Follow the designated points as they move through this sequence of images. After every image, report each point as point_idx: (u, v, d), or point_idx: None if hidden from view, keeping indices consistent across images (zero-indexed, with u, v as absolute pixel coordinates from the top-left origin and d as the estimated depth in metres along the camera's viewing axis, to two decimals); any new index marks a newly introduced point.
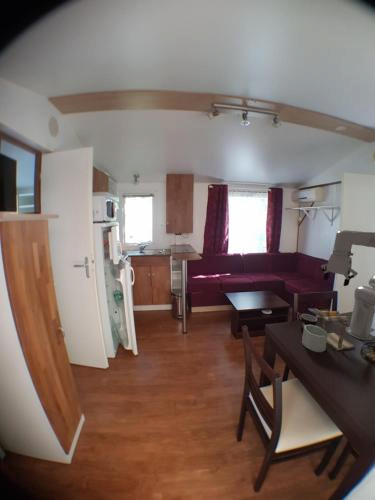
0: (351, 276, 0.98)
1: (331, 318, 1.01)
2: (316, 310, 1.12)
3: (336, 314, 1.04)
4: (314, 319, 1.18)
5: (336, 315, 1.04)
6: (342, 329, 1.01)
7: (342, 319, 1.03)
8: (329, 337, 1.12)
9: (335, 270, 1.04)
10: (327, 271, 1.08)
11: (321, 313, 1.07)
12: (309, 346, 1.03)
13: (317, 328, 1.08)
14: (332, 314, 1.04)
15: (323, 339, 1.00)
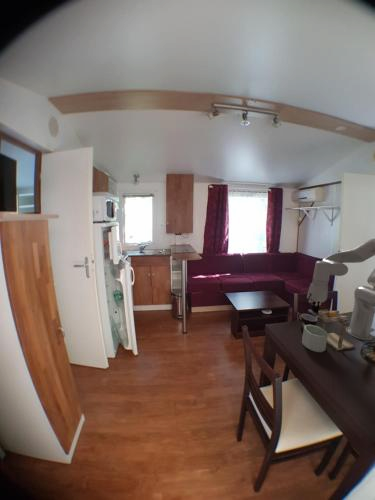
0: (321, 302, 1.10)
1: (331, 319, 1.01)
2: None
3: (336, 314, 1.04)
4: (314, 319, 1.18)
5: (336, 315, 1.04)
6: (342, 329, 1.01)
7: (342, 319, 1.03)
8: (329, 337, 1.12)
9: (319, 299, 1.08)
10: (317, 302, 1.09)
11: (321, 314, 1.07)
12: (309, 346, 1.03)
13: (317, 328, 1.08)
14: (332, 314, 1.04)
15: (323, 339, 1.00)
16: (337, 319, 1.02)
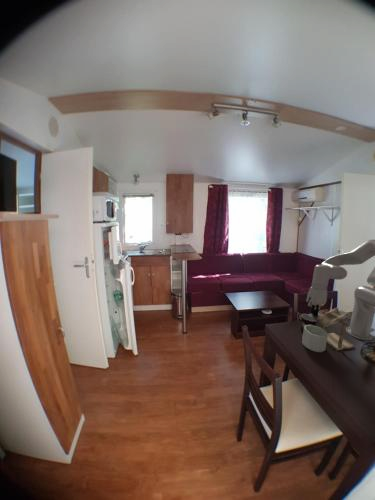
0: (320, 305, 1.10)
1: (329, 323, 1.02)
2: None
3: None
4: None
5: None
6: (342, 329, 1.01)
7: (341, 318, 1.03)
8: (329, 337, 1.12)
9: (318, 303, 1.08)
10: (316, 306, 1.09)
11: (320, 318, 1.07)
12: (309, 346, 1.03)
13: (317, 328, 1.08)
14: None
15: (323, 339, 1.00)
16: (336, 321, 1.02)
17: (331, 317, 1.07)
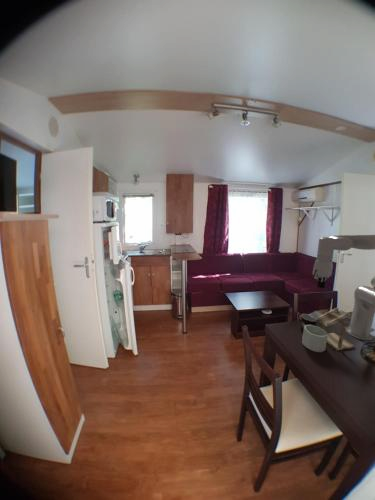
0: (326, 277, 1.12)
1: (329, 323, 1.02)
2: (315, 314, 1.12)
3: None
4: None
5: None
6: (342, 329, 1.01)
7: (341, 318, 1.03)
8: (329, 337, 1.12)
9: (325, 275, 1.10)
10: (322, 278, 1.11)
11: (320, 318, 1.07)
12: (309, 346, 1.03)
13: (317, 328, 1.08)
14: None
15: (323, 339, 1.00)
16: (336, 321, 1.02)
17: (331, 317, 1.07)
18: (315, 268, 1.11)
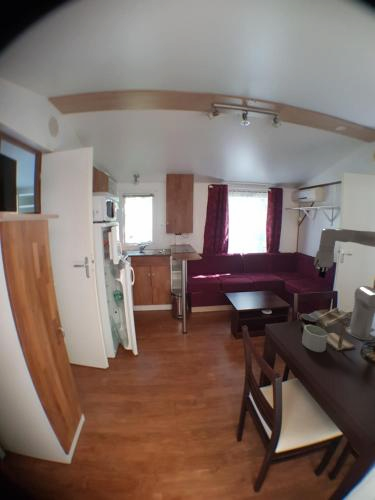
0: (327, 268, 1.16)
1: (329, 323, 1.02)
2: (315, 314, 1.12)
3: None
4: None
5: None
6: (342, 329, 1.01)
7: (341, 318, 1.03)
8: (329, 337, 1.12)
9: (326, 265, 1.14)
10: (323, 268, 1.15)
11: (320, 318, 1.07)
12: (309, 346, 1.03)
13: (317, 328, 1.08)
14: None
15: (323, 339, 1.00)
16: (336, 321, 1.02)
17: (331, 317, 1.07)
18: (317, 258, 1.15)
